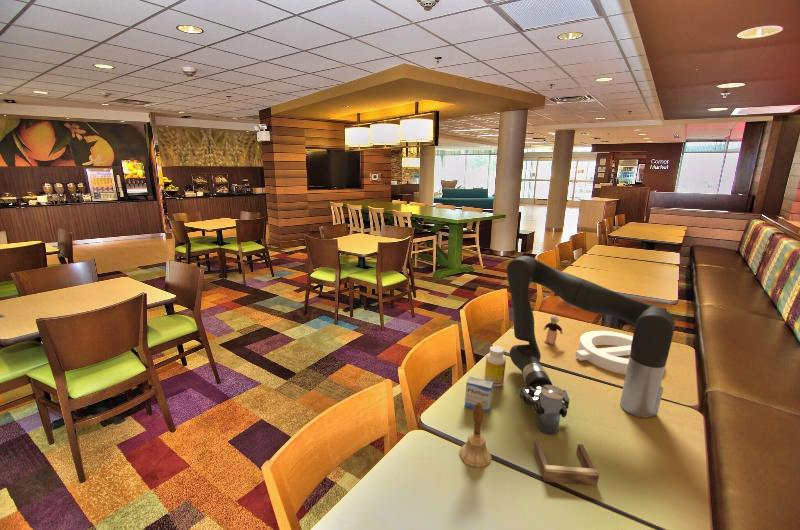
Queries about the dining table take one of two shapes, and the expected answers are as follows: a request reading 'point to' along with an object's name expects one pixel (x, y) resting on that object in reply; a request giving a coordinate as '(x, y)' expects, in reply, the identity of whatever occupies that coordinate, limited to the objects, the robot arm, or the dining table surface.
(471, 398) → the medicine box
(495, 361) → the supplement bottle
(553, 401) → the tin
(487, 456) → the hand bell
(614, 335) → the ring with crossbar
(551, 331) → the grandmother figurine
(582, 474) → the wooden u-shaped bracket
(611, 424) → the dining table surface
